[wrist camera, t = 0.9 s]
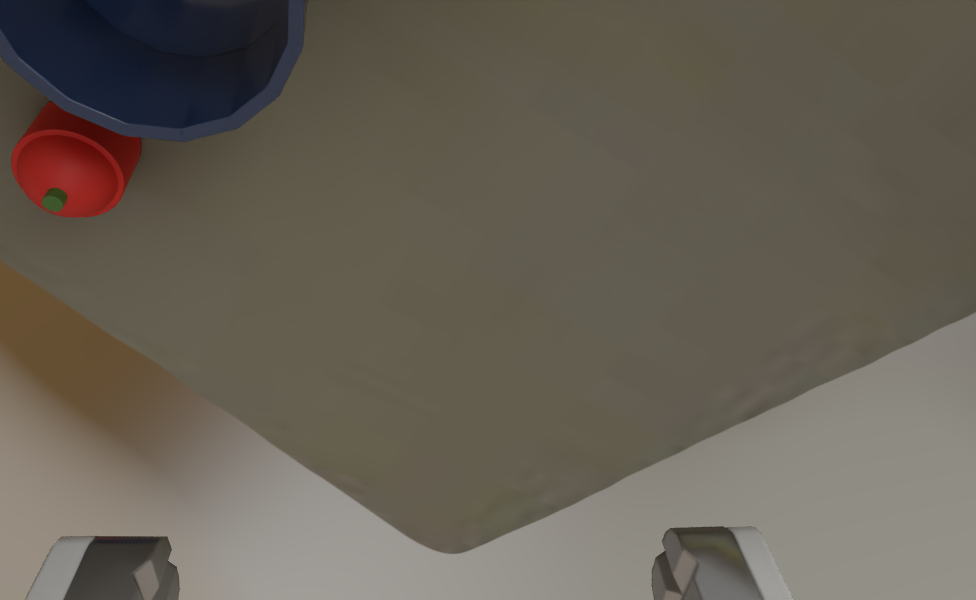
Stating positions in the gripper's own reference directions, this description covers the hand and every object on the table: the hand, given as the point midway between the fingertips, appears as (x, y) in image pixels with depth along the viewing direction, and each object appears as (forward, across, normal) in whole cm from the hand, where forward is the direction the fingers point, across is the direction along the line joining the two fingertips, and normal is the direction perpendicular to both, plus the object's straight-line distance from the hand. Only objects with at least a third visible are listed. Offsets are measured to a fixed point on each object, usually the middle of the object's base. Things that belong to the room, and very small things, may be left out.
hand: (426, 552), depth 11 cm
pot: (+34, +13, -4) cm, 37 cm away
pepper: (+35, +20, +8) cm, 41 cm away
